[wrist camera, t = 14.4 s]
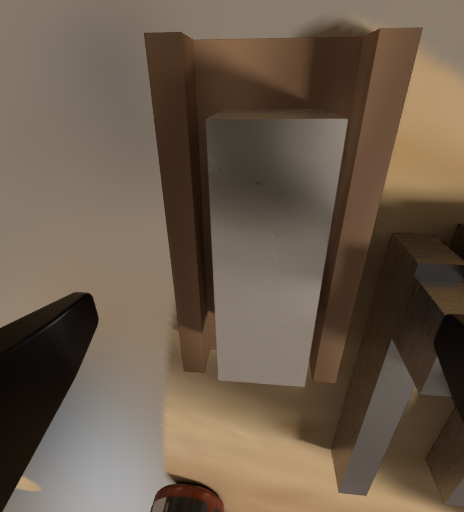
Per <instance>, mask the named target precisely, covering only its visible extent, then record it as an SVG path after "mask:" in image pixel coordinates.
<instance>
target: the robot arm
mask: <svg viewBox="0 0 464 512" xmlns="http://www.w3.org/2000/svg"><path fill="white" fill-rule="evenodd" d="M97 325H98V314H97V310H96V307H95V303H94V300H93V297H92V295H91V294H89V293H82V292H75V293H72V294H70V295H68V296H66V297H63V298H61V299H59V300H58V301H55V302H53V303H51V304H49V305H47V306H45V307H43V308H41V309H39V310H37V311H34V312H32V313H30V314H28V315H26V316H24V317H22V318H20V319H18V320H16V321H14V322H12V323H10V324H8V325H6V326H3V327H2V328H0V512H2V511H3V509H4V508H5V506H6V504H7V502H8V500H9V499H10V497H11V495H12V493H13V491H14V489H15V488H16V486H17V484H18V482H19V480H20V478H21V477H22V475H23V473H24V471H25V469H26V467H27V465H28V464H29V462H30V460H31V458H32V456H33V455H34V453H35V451H36V449H37V447H38V445H39V444H40V442H41V440H42V438H43V436H44V434H45V432H46V430H47V429H48V427H49V425H50V423H51V421H52V420H53V418H54V416H55V414H56V412H57V411H58V409H59V407H60V405H61V403H62V401H63V399H64V398H65V396H66V394H67V392H68V390H69V388H70V387H71V385H72V383H73V381H74V379H75V377H76V375H77V373H78V370H79V368H80V366H81V364H82V361H83V358H84V356H85V354H86V352H87V349H88V347H89V344H90V342H91V340H92V337H93V335H94V333H95V330H96V328H97ZM434 349H435V352H436V354H437V357H438V360H439V363H440V366H441V368H442V371H443V374H444V377H445V379H446V382H447V385H448V388H449V390H450V393H451V396H452V399H453V401H454V404H455V406H456V409H457V411H458V413H459V415H460V418H461V420H462V422H463V424H464V315H463V314H447V315H445V316H444V317H443V319H442V321H441V324H440V326H439V328H438V330H437V333H436V335H435V337H434Z"/></svg>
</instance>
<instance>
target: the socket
mask: <svg viewBox="0 0 464 512" xmlns="http://www.w3.org/2000/svg"><path fill="white" fill-rule="evenodd" d="M463 276H464V261H463V260H462V259H461V258H460V257H459V256H457V255H456V254H455V253H454V252H453V251H452V250H451V249H450V248H448V247H447V246H446V245H445V244H444V243H443V242H442V241H441V240H439V239H438V238H437V237H436V236H435V235H428V234H402V233H393V234H392V238H391V241H390V245H389V248H388V252H387V256H386V259H385V263H384V266H383V270H382V273H381V277H380V280H379V284H378V287H377V291H376V294H375V298H374V302H373V305H372V309H371V312H370V316H369V319H368V323H367V326H366V330H365V333H364V337H363V340H362V344H361V347H360V351H359V355H358V358H357V362H356V365H355V369H354V372H353V376H352V379H351V383H350V386H349V390H348V393H347V397H346V401H345V404H344V408H343V411H342V415H341V418H340V422H339V425H338V429H337V432H336V436H335V439H334V443H333V447H332V450H331V452H332V458H333V463H334V469H335V475H336V480H337V486H338V492H339V493H345V494H354V495H363V496H366V495H367V493H368V491H369V489H370V486H371V484H372V482H373V480H374V477H375V475H376V473H377V471H378V468H379V466H380V464H381V461H382V459H383V457H384V455H385V452H386V450H387V448H388V446H389V443H390V441H391V439H392V437H393V434H394V432H395V430H396V428H397V425H398V423H399V421H400V419H401V416H402V414H403V412H404V409H405V407H406V405H407V403H408V400H409V398H410V396H411V394H412V391H413V389H414V387H415V386H416V388H417V390H418V392H419V394H421V395H434V396H446V397H452V396H451V393H450V390H449V388H448V385H447V382H446V379H445V377H444V374H443V371H442V368H441V366H440V363H439V360H438V357H437V354H436V352H435V349H434V337H435V335H436V333H437V330H438V328H439V326H440V324H441V321H442V319H443V317H444V316H445V315H447V314H463V315H464V278H463ZM426 462H427V465H428V467H429V469H430V472H431V474H432V476H433V479H434V481H435V483H436V486H437V488H438V490H439V493H440V495H441V497H442V500H443V502H444V505H453V506H462V507H464V424H463V422H462V420H461V418H460V415H459V413H458V411H457V409H456V408H455V410H454V412H453V413H452V415H451V417H450V419H449V420H448V422H447V424H446V426H445V427H444V429H443V431H442V433H441V434H440V436H439V438H438V440H437V441H436V443H435V445H434V447H433V448H432V450H431V452H430V454H429V455H428V457H427V459H426Z"/></svg>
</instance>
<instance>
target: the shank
mask: <svg viewBox="0 0 464 512" xmlns="http://www.w3.org/2000/svg"><path fill="white" fill-rule="evenodd" d="M347 123H348V119H347V118H345V117H342V116H340V115H338V114H335V113H333V112H330V111H328V110H325V109H223V110H221V111H220V112H218V113H216V114H214V115H212V116H210V117H209V118H207V119H206V135H207V156H208V176H209V197H210V218H211V239H212V260H213V281H214V302H215V322H216V343H217V364H218V380H220V381H233V382H246V383H259V384H272V385H285V386H298V387H305V382H306V376H307V370H308V364H309V357H310V351H311V345H312V339H313V333H314V327H315V320H316V314H317V308H318V302H319V296H320V290H321V283H322V277H323V271H324V265H325V259H326V253H327V246H328V240H329V234H330V228H331V222H332V216H333V209H334V203H335V197H336V191H337V185H338V179H339V172H340V166H341V160H342V154H343V148H344V142H345V135H346V129H347Z"/></svg>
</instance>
